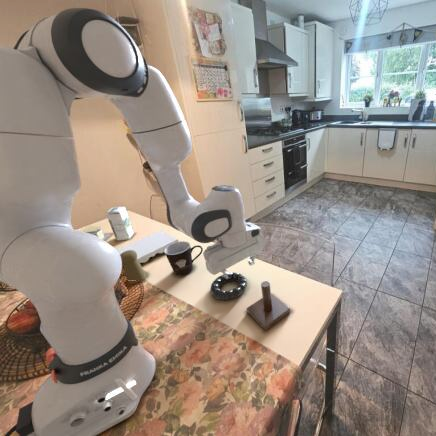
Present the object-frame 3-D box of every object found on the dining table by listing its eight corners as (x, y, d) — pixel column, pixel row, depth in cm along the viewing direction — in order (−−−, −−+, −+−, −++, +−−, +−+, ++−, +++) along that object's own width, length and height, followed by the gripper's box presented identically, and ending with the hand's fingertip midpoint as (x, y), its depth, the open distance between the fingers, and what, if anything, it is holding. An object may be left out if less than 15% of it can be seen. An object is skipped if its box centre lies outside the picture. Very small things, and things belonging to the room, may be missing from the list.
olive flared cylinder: (137, 284, 84) (127, 258, 79) (123, 282, 85) (111, 257, 81) (150, 273, 90) (140, 248, 85) (136, 272, 91) (126, 247, 86)
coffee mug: (167, 278, 86) (159, 255, 82) (176, 264, 94) (170, 241, 90) (200, 276, 87) (194, 253, 82) (206, 262, 94) (201, 240, 90)
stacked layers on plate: (112, 233, 119) (108, 223, 116) (100, 243, 111) (96, 233, 108) (91, 235, 118) (86, 225, 116) (78, 245, 110) (72, 234, 108)
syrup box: (121, 235, 117) (110, 207, 111) (135, 233, 118) (124, 206, 112) (116, 241, 112) (104, 212, 106) (130, 239, 113) (119, 211, 107)
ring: (222, 307, 73) (221, 301, 72) (205, 288, 81) (203, 282, 80) (254, 288, 80) (253, 282, 79) (235, 272, 88) (234, 266, 87)
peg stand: (265, 330, 65) (262, 301, 61) (247, 312, 71) (242, 284, 67) (290, 311, 71) (288, 283, 66) (271, 296, 77) (268, 269, 72)
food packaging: (131, 271, 92) (179, 245, 106) (127, 263, 90) (177, 239, 104) (115, 258, 100) (162, 236, 114) (112, 251, 99) (160, 230, 113)
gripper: (207, 253, 67) (216, 291, 74) (265, 226, 80) (269, 261, 86) (197, 245, 72) (207, 281, 78) (254, 220, 84) (258, 254, 90)
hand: (240, 270), depth 82 cm, fingers open, 8 cm apart
